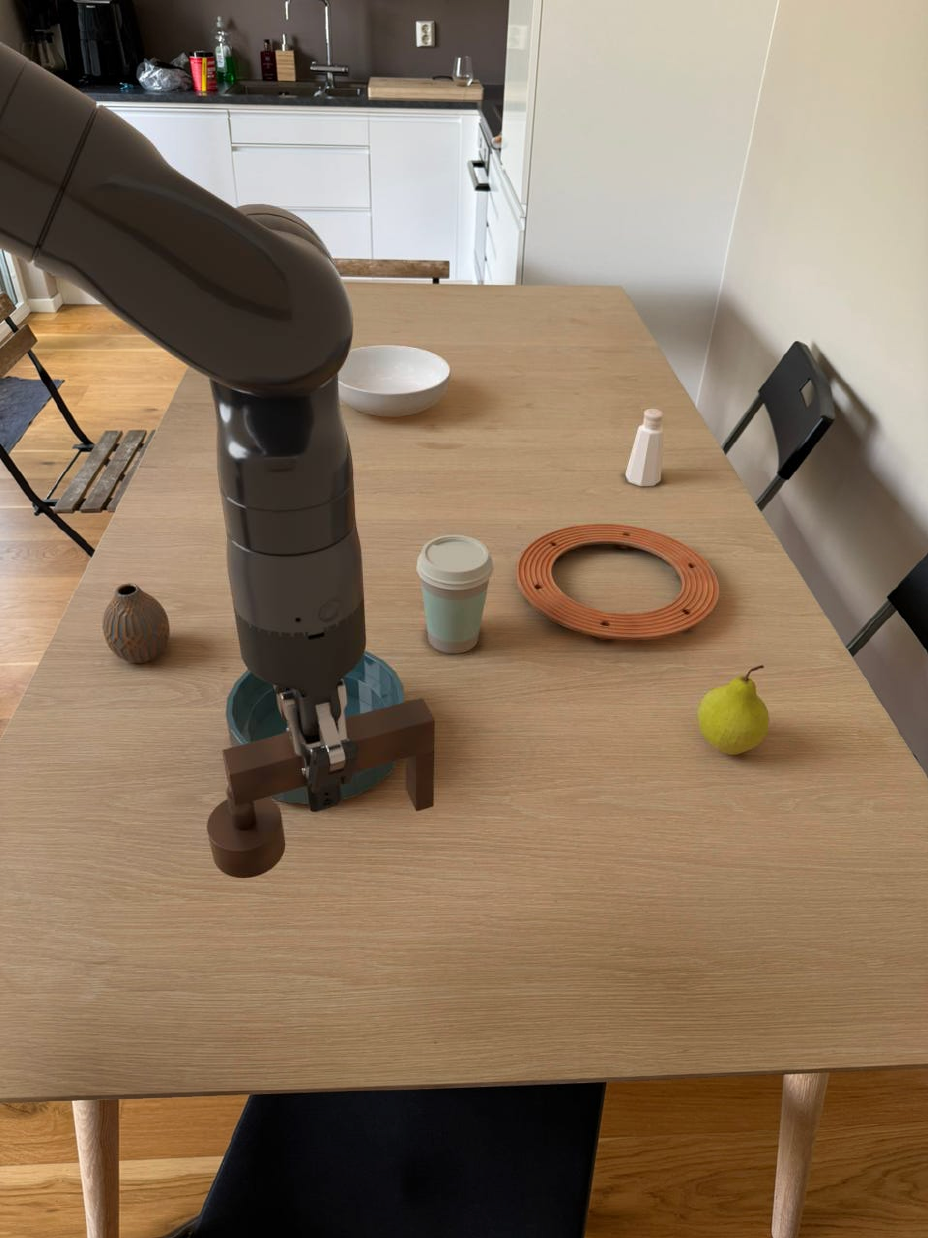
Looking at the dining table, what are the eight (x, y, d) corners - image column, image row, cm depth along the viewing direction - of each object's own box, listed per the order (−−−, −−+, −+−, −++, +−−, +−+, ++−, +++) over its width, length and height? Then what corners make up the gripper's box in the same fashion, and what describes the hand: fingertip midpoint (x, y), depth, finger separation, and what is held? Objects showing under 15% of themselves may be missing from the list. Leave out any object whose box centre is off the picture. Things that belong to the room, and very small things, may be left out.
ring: (485, 554, 119) (485, 539, 117) (649, 523, 126) (652, 508, 125) (569, 672, 100) (571, 655, 99) (756, 627, 108) (761, 611, 106)
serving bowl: (357, 440, 144) (355, 400, 140) (313, 392, 159) (310, 354, 154) (470, 418, 152) (472, 379, 148) (418, 373, 167) (418, 337, 162)
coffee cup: (503, 633, 106) (509, 548, 98) (462, 671, 100) (465, 584, 93) (444, 607, 109) (445, 523, 102) (402, 643, 104) (400, 557, 96)
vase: (112, 637, 103) (95, 574, 98) (174, 629, 104) (161, 568, 99) (108, 675, 98) (90, 612, 92) (173, 667, 99) (159, 604, 94)
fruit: (681, 724, 94) (703, 636, 87) (740, 716, 95) (766, 628, 88) (709, 772, 89) (735, 682, 82) (771, 762, 90) (802, 673, 83)
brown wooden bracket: (220, 888, 60) (200, 799, 55) (206, 832, 64) (187, 744, 58) (440, 819, 65) (442, 732, 60) (416, 772, 69) (416, 685, 63)
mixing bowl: (254, 830, 82) (246, 785, 78) (219, 708, 94) (211, 665, 90) (429, 779, 87) (429, 735, 83) (374, 671, 100) (373, 629, 96)
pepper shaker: (639, 490, 134) (650, 422, 127) (618, 474, 138) (628, 407, 131) (667, 482, 136) (680, 415, 129) (646, 467, 140) (657, 401, 133)
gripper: (210, 539, 55) (244, 737, 66) (260, 678, 45) (290, 885, 56) (327, 517, 58) (342, 712, 68) (400, 645, 48) (403, 850, 58)
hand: (318, 789), depth 62 cm, fingers closed on brown wooden bracket, 2 cm apart
